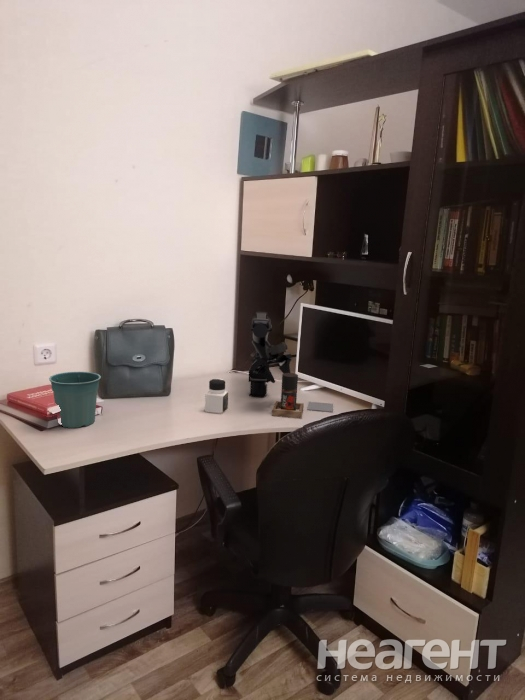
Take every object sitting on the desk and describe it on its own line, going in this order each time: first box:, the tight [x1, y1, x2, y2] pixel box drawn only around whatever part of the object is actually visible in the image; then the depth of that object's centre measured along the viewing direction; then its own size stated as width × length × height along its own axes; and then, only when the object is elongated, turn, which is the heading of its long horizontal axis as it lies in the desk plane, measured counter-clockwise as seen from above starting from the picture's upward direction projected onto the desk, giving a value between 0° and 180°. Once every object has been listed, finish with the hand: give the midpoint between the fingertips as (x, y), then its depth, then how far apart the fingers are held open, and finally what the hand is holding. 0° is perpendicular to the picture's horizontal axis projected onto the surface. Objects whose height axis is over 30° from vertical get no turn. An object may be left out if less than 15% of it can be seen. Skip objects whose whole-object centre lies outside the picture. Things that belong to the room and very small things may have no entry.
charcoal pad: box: [306, 401, 334, 413], centre depth 199 cm, size 10×10×1 cm
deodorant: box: [280, 372, 299, 411], centre depth 190 cm, size 6×6×15 cm
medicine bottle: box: [204, 378, 229, 415], centre depth 189 cm, size 7×7×12 cm
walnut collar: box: [271, 400, 304, 419], centre depth 191 cm, size 11×11×2 cm
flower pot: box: [48, 371, 102, 429], centre depth 170 cm, size 16×16×16 cm
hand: (282, 380), depth 191 cm, fingers open, 9 cm apart
